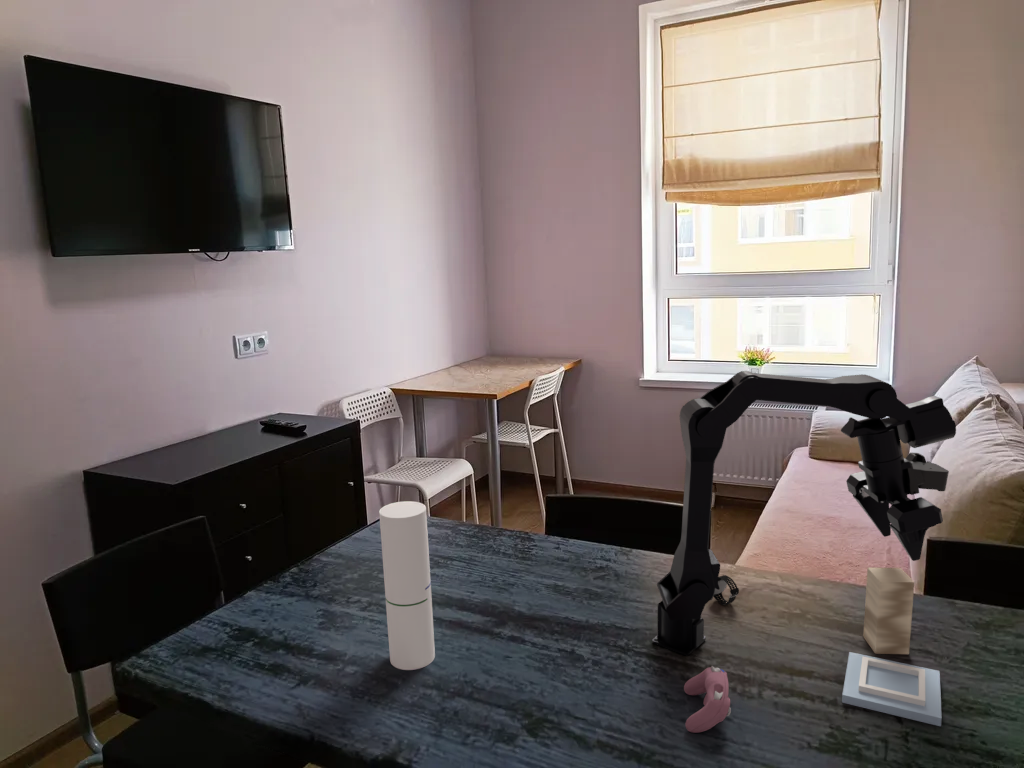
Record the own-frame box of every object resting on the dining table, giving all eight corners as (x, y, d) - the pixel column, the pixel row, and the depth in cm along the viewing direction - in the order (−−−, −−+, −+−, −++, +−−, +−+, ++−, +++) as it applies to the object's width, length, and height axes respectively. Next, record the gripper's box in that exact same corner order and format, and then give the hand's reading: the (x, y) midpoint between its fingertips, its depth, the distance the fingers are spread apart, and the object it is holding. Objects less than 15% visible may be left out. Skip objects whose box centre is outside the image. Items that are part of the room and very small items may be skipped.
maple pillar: (875, 653, 115) (879, 581, 113) (863, 636, 120) (867, 567, 118) (908, 654, 114) (914, 582, 112) (895, 637, 119) (900, 567, 117)
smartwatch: (728, 596, 135) (729, 570, 134) (740, 609, 130) (741, 583, 129) (706, 598, 134) (707, 572, 133) (717, 612, 129) (718, 585, 128)
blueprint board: (841, 702, 103) (842, 689, 103) (849, 658, 114) (849, 647, 113) (940, 726, 98) (942, 712, 97) (938, 678, 108) (939, 666, 108)
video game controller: (714, 748, 98) (740, 707, 96) (682, 731, 98) (707, 690, 96) (709, 702, 107) (733, 665, 105) (681, 687, 107) (704, 649, 106)
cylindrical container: (442, 648, 121) (433, 503, 116) (423, 673, 114) (413, 520, 109) (402, 642, 123) (393, 499, 118) (381, 665, 116) (370, 515, 111)
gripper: (970, 459, 104) (988, 559, 107) (904, 426, 122) (921, 512, 125) (891, 480, 105) (911, 579, 107) (837, 444, 123) (855, 529, 126)
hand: (900, 547), depth 116 cm, fingers open, 9 cm apart
